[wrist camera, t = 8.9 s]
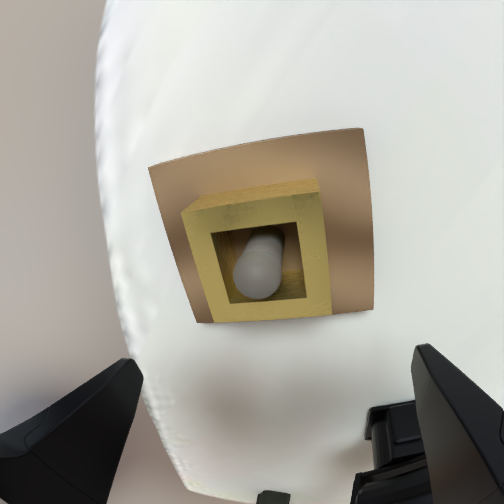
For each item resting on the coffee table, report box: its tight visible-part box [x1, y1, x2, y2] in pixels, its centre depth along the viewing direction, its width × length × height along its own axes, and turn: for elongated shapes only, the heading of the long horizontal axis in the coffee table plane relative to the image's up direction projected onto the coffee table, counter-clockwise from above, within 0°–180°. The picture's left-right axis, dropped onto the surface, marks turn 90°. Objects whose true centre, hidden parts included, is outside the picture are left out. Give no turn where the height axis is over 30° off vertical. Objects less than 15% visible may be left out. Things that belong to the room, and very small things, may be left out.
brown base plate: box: [148, 128, 374, 323], centre depth 15 cm, size 11×12×6 cm
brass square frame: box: [181, 178, 332, 323], centre depth 15 cm, size 6×6×3 cm
